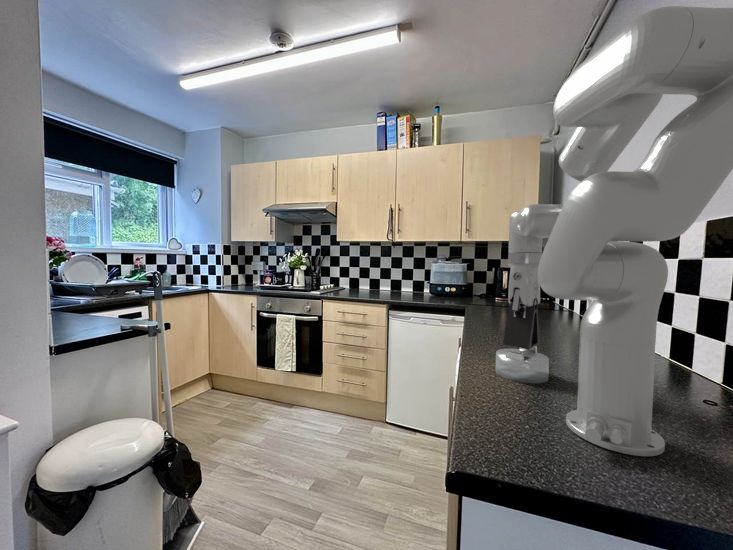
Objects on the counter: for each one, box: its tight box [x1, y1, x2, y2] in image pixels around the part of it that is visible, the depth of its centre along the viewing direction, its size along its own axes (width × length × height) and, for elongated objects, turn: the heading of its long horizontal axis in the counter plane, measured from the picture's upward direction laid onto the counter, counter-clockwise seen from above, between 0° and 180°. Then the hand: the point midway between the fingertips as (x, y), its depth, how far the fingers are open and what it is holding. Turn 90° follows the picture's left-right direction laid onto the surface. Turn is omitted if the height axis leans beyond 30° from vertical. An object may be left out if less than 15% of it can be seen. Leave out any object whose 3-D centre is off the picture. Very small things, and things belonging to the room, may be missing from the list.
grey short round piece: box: [495, 345, 550, 384], centre depth 78 cm, size 12×12×7 cm
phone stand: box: [502, 298, 541, 350], centre depth 77 cm, size 9×6×12 cm, turn 135°
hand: (522, 332), depth 78 cm, fingers closed on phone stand, 1 cm apart
